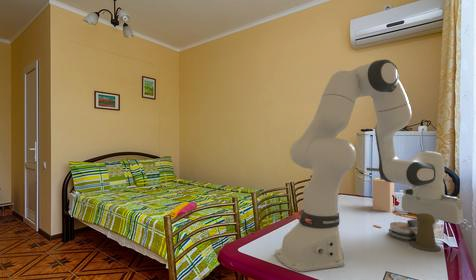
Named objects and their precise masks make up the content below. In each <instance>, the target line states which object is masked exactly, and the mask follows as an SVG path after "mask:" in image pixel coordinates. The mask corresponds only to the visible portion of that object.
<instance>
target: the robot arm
mask: <svg viewBox="0 0 476 280" xmlns="http://www.w3.org/2000/svg"><path fill="white" fill-rule="evenodd" d="M362 97H363V98H364V97H370V98H371V99H372V104H373V108H374V113H375V114H376V115H375V116H376V125H375V129H374V130H375V131H374V135H375V143H376V147H377V149H376V150H377V154H378V155H377V156H378V168H379V171H378V173H379V177H380V176H381V177H382V179H383V180H385V181H386V182H392V183H394V184H400V185H407V186H412V187H408V188H404V189H403V190H402V193H403V195H402V197H401V209H402V211H404V212H407V213H410V214H414V215H418V214H420V213H425V214H430V215H432V216H433V217H434V219H435V221H434V224H433V230H436V228H437V227H436V225H438V223H439V222H440V221H442V222H446V223H449V224H450V223H451V224H455V225H459V224H462V223H463V222H464V212H463V206H464V205H463V201H462V200H461V199H459V198H458V197H456V196H451V195H445V193H446V191H445V190H446V189H445V183H444V177H445V162H444V157H443V155H442V154H441V153H440V152H437V151H430V150H419V151H418V152H417V154H416V155H415V156H413V157H411V158H409V159H403V158H399V157H397V155H396V152H395V145H394V144H395V143H394V135H395V134H396V133H397V132H399V131H400V130H403V129H404V128H405V127H407V126H408V125H409V123H410V121H411V119H412V109H411V105H410V103H409V98H408V96H407V93H406V92H405V89H404V87H403V85H402V83H401V82H400V80H399V69H398V68H397V65H396V64H395V63H394V62H393V61H391V60H389V59H377V60H375V61H372V62H370V63H367V64H363V65H358V66H357V67H355V68H353V69H352V70H340V71H339V70H338V71H336V72H335V73H333V74H332V75H331V77H330V78H329V80H328V82H327V84H326V86H325V88H324V91H323V93H322V95H321V98H320V101H319V104H318V107H317V109H316V112H315V114H314V116H313V119H312V121H311V122H310V124H309V126H308V127H307V129H305V131H304V132H303V134H301V137H299V138H298V139H297V140H296V141H295V142H293V144H292V145H291V148H290V149H289V150H290V151H289V152H290V153H289V155H290V158H291V160H292V162H293V163H294V164H296V165H297V166H298V167H299V166H300V167H302V168H304V169H309V170H312V175H311V178H310V180H309V182H308V183H306V184H304V187H303V189H302V195H303V196H302V197H303V198H302V199H303V201H302V202H303V203H302V205H303V207H302V208H303V209H302V211H301V213H299V212H293V214H292V217H293V219H296V220H298V223H296V224H295V225H294V227H292V229H290V231H288V232H286V234H285V235H284V236H283V239H282V245H281V248H278V249H276V250H275V252H274V256H275V258H276V259H277V260H278V261H279V262H281V264H283V265H284V266H286V267H288V268H289V269H292V270H294V271H296V272H308V271H317V270H324V269H331V268H338V267H343V266H344V265H345V264H344V262H345V261H344V253H343V250H342V249H343V248H342V244H341V238H340V237H341V235H340V231H339V230H340V229H339V225H340V213H339V189H340V185H341V183H342V180H343V178H344V176H345V175H346V173H348V171H350V170H351V169H352V168H353V167H354V166H355V164H356V160H357V150H356V148H355V146H354V144H353V143H352V142H351V141H349V140H345V139H344V138H343V139H342V138H338V137H337V135H339V134H340V133H341V132H343V131H344V130H346V128H347V127H348V125H349V122H350V119H351V116H352V113H353V110H354V107H355V104H356V100H357V98H362Z"/></svg>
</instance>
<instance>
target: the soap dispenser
mask: <svg viewBox="0 0 476 280" xmlns="http://www.w3.org/2000/svg"><path fill="white" fill-rule="evenodd" d="M366 171H371V172H379V167H378V168H377V167H366ZM371 181H372V210H376V211H382V212H386V213H387V212H388V213H391V212H392V211H394V210H395V206H394V207H393V197H392V194H393V193H394V194H395V183H392V182H386V181H385V180H383V179H382V177H381V176H380V175H379V177H376V178H372V180H371ZM393 209H394V210H393Z"/></svg>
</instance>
